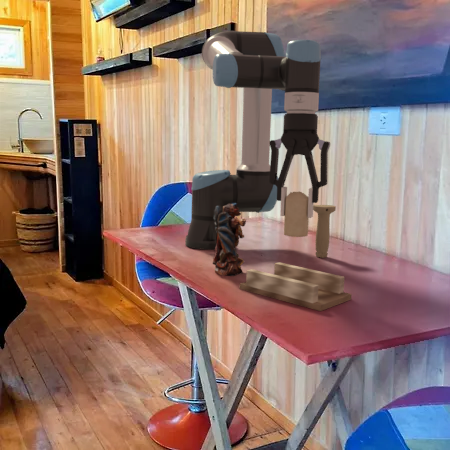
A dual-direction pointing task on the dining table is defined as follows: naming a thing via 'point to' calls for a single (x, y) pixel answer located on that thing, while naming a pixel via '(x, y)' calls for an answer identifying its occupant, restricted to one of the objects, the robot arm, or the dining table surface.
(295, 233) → the candle
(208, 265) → the dining table surface
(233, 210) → the figurine
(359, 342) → the dining table surface
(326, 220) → the handle
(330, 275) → the rack
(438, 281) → the dining table surface
